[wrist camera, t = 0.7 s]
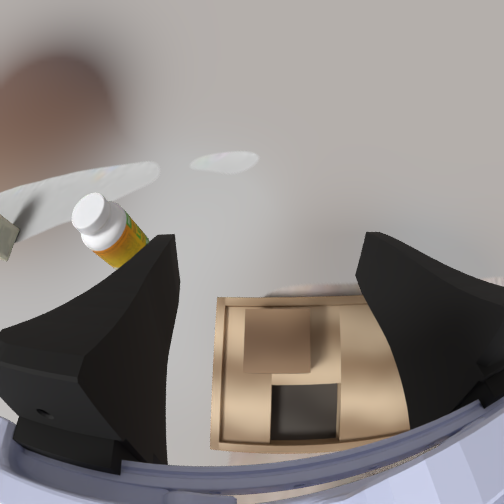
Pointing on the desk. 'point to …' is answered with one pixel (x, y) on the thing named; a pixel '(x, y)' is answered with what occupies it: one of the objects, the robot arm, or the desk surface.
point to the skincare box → (7, 237)
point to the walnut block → (277, 341)
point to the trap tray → (307, 383)
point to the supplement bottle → (108, 229)
